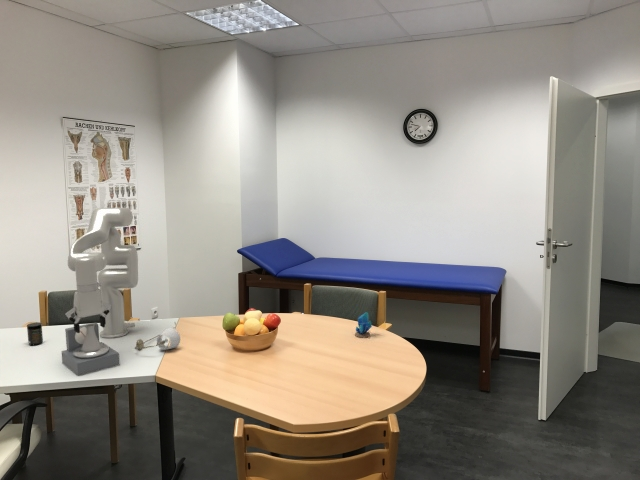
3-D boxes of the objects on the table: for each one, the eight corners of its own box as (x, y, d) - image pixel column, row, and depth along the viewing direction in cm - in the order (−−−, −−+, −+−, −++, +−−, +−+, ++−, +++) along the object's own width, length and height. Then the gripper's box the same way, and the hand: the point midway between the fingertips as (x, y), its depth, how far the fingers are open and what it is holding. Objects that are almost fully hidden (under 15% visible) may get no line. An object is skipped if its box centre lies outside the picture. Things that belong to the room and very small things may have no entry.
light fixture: (209, 331, 250) (168, 355, 211) (177, 336, 254) (131, 360, 215) (205, 313, 250) (163, 333, 211) (173, 318, 254) (126, 339, 215)
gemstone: (374, 334, 242) (374, 310, 240) (363, 339, 235) (363, 314, 234) (361, 331, 247) (362, 307, 245) (350, 336, 240) (350, 311, 239)
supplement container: (45, 343, 230) (44, 323, 228) (32, 346, 225) (31, 327, 224) (38, 340, 233) (37, 321, 232) (25, 344, 228) (24, 324, 227)
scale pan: (101, 344, 213) (101, 341, 213) (114, 352, 204) (114, 349, 203) (68, 351, 204) (68, 349, 204) (80, 360, 195) (80, 358, 194)
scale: (102, 353, 217) (100, 321, 215) (119, 364, 205) (117, 331, 203) (62, 363, 206) (59, 329, 204) (78, 376, 194) (75, 340, 192)
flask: (105, 347, 206) (104, 323, 204) (91, 353, 199) (90, 329, 198) (91, 345, 208) (89, 321, 207) (77, 351, 202) (75, 327, 200)
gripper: (105, 282, 209) (108, 322, 211) (60, 289, 197) (64, 332, 200) (113, 285, 203) (115, 326, 206) (67, 293, 191) (70, 337, 194)
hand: (90, 329), depth 203 cm, fingers open, 9 cm apart
